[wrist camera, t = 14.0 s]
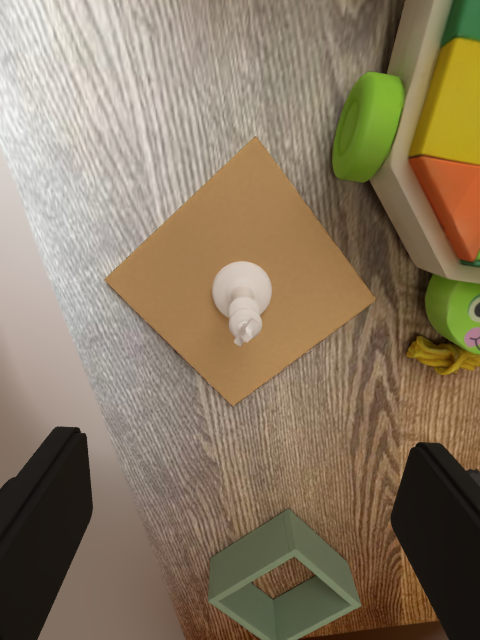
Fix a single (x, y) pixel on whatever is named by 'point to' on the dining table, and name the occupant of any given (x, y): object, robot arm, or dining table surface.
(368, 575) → the dining table surface
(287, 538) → the square frame
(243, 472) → the dining table surface
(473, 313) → the toy wagon
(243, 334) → the chess piece
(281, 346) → the plate
